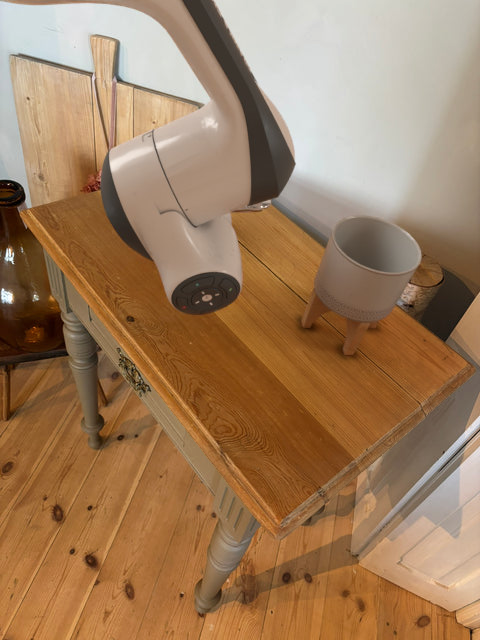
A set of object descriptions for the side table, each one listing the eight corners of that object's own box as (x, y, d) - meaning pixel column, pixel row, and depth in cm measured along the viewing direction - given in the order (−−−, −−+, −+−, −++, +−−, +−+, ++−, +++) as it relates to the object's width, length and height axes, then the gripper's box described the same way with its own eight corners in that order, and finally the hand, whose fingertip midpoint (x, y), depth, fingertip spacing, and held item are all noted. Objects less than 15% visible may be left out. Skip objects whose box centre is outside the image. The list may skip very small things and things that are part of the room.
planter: (294, 296, 81) (322, 212, 68) (362, 298, 84) (402, 217, 71) (310, 355, 73) (346, 272, 60) (385, 355, 75) (436, 275, 62)
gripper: (278, 187, 56) (257, 137, 65) (104, 184, 52) (108, 130, 61) (270, 231, 60) (251, 177, 70) (108, 230, 56) (111, 174, 66)
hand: (183, 155), depth 66 cm, fingers open, 8 cm apart
